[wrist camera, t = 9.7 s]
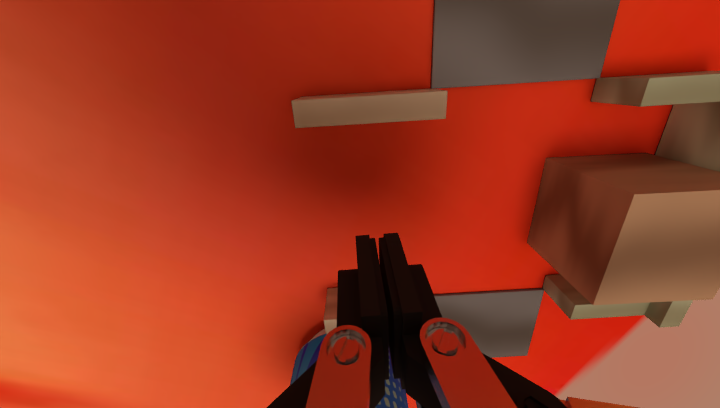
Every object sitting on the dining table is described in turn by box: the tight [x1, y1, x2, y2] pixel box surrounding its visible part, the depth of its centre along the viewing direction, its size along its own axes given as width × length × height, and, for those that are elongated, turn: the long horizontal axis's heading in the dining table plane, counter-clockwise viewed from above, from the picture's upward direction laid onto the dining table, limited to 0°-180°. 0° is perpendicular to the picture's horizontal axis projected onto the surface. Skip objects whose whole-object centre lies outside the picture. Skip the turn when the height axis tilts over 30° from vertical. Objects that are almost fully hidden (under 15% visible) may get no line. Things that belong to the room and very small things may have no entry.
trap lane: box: [291, 0, 720, 358], centre depth 16 cm, size 28×22×4 cm
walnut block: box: [527, 153, 720, 305], centre depth 16 cm, size 6×6×6 cm
